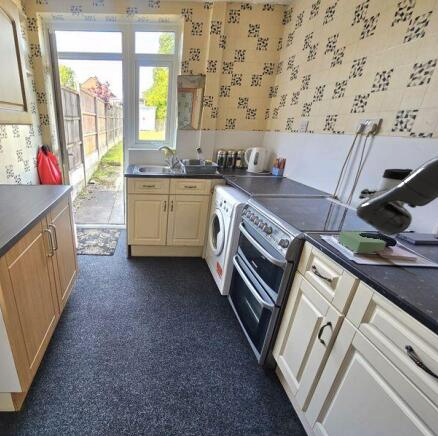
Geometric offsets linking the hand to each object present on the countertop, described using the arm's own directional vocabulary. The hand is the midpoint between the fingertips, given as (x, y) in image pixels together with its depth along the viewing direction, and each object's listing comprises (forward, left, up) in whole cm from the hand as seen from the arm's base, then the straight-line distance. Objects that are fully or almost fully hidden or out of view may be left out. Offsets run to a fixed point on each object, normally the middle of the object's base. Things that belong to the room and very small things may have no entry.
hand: (388, 193), depth 85 cm
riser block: (-1, -5, -24) cm, 24 cm away
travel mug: (+2, +2, -11) cm, 11 cm away
